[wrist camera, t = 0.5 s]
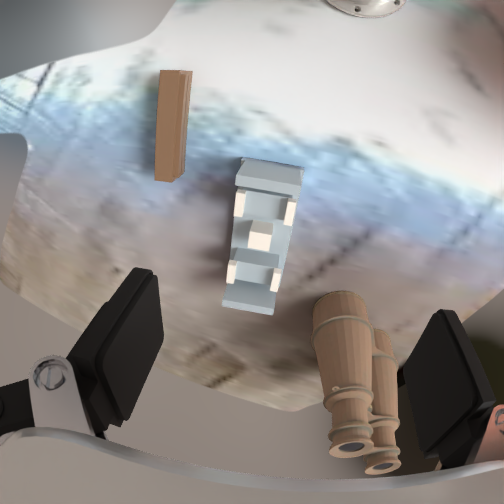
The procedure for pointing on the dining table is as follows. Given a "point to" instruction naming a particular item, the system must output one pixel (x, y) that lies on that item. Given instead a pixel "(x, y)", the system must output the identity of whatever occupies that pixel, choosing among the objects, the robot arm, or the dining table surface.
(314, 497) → the robot arm
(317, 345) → the binoculars
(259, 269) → the display cradle
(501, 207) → the dining table surface
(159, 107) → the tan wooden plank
